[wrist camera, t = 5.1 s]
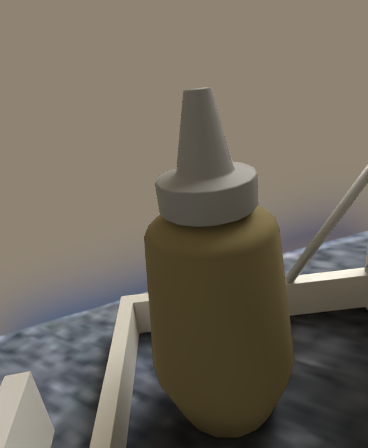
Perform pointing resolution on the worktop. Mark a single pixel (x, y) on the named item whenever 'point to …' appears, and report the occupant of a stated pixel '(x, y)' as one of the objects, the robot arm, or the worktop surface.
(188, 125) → the squeeze bottle
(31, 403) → the robot arm
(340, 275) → the access hatch
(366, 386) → the worktop surface
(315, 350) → the worktop surface
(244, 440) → the worktop surface
